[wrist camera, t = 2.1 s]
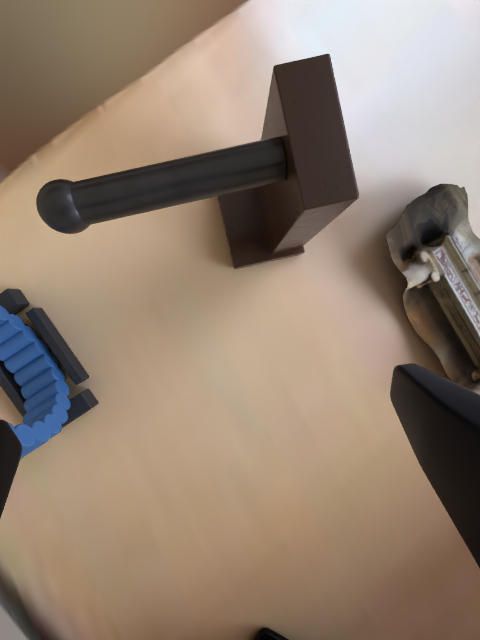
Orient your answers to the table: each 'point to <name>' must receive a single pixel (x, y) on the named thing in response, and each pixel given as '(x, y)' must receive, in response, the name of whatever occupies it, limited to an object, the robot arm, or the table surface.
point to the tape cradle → (85, 400)
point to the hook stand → (240, 175)
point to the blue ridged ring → (34, 382)
